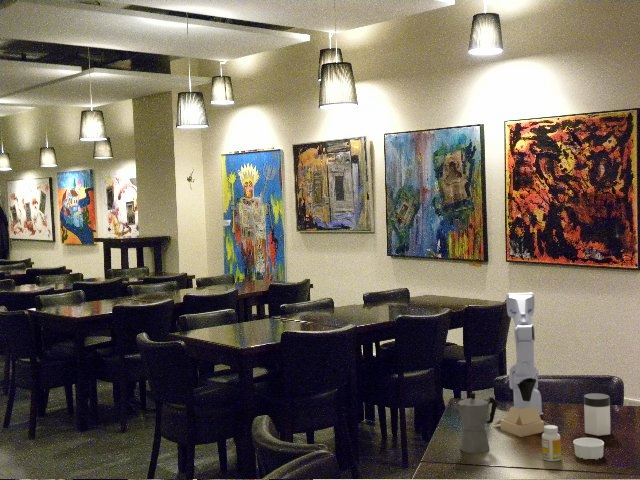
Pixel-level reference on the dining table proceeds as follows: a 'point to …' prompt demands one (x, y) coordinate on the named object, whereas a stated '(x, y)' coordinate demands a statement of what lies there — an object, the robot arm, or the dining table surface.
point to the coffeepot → (475, 423)
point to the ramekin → (588, 448)
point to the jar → (597, 414)
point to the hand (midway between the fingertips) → (526, 400)
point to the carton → (522, 427)
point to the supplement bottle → (551, 443)
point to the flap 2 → (513, 415)
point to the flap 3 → (529, 415)
